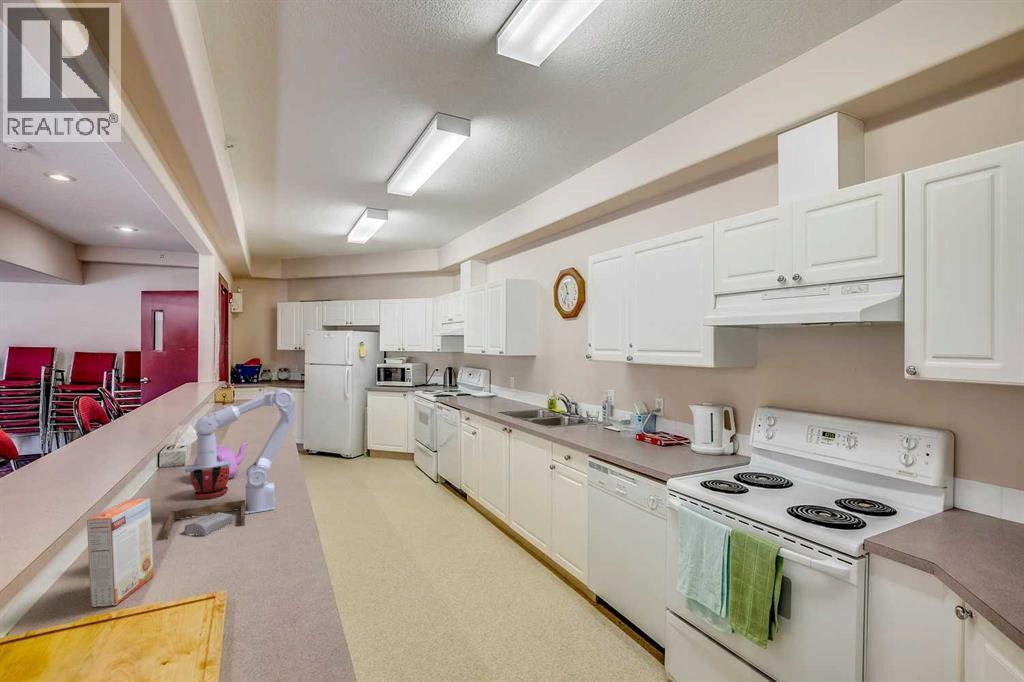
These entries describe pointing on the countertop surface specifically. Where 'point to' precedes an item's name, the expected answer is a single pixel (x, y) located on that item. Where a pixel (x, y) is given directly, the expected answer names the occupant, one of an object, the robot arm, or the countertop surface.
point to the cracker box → (120, 551)
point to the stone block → (208, 524)
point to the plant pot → (219, 486)
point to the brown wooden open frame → (203, 513)
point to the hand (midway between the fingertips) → (207, 490)
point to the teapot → (229, 457)
